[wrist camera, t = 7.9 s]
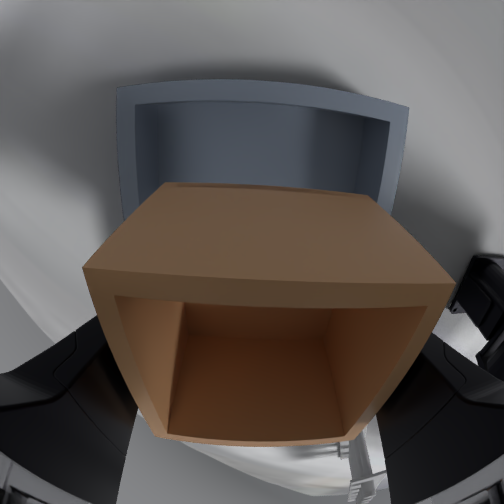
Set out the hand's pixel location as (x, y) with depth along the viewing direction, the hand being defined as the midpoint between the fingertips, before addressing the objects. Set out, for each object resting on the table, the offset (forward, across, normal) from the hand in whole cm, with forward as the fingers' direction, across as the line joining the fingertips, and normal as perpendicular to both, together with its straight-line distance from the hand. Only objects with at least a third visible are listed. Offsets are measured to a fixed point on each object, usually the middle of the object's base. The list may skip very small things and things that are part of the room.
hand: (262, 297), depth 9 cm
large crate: (+10, 0, 0) cm, 10 cm away
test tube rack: (+10, -18, +37) cm, 42 cm away
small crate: (+1, 0, 0) cm, 1 cm away
